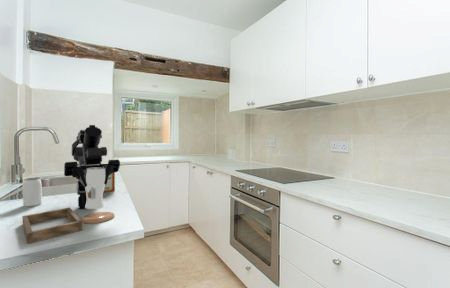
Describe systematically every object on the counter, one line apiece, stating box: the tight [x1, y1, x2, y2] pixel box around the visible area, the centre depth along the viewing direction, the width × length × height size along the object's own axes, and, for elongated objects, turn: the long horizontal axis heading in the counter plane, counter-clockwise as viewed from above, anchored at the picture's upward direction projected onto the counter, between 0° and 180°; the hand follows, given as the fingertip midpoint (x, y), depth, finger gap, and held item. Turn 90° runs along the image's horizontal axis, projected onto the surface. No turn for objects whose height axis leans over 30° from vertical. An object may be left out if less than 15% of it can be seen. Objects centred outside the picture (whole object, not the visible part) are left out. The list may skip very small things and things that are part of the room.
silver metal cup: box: [84, 167, 106, 211], centre depth 85 cm, size 7×7×15 cm
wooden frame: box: [22, 207, 83, 245], centre depth 78 cm, size 14×20×3 cm
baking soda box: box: [102, 162, 116, 194], centre depth 128 cm, size 10×6×16 cm
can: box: [22, 177, 43, 208], centre depth 102 cm, size 6×6×12 cm
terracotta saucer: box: [81, 211, 115, 225], centre depth 87 cm, size 11×11×1 cm
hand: (95, 185), depth 84 cm, fingers closed on silver metal cup, 7 cm apart
